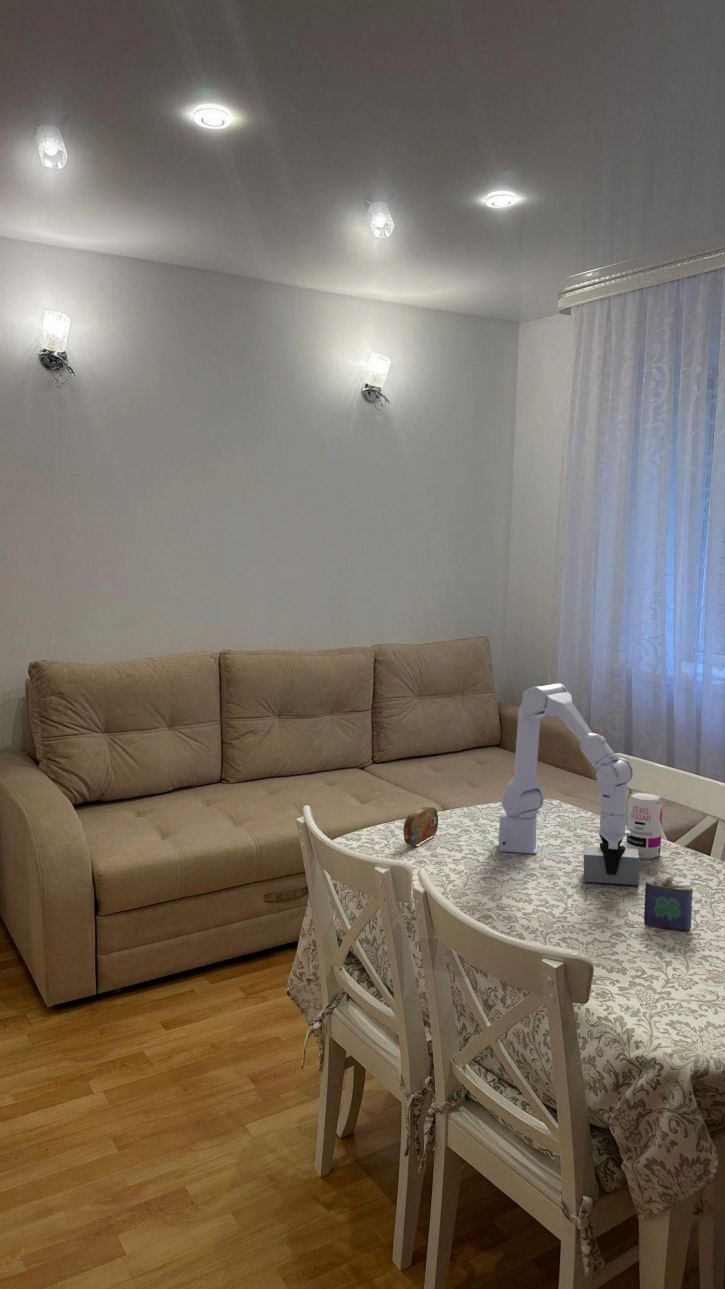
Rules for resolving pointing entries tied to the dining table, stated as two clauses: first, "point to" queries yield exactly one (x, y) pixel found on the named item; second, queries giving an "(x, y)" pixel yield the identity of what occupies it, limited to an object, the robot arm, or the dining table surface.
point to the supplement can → (644, 824)
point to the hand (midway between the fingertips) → (611, 868)
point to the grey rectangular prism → (597, 869)
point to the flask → (668, 905)
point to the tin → (420, 825)
